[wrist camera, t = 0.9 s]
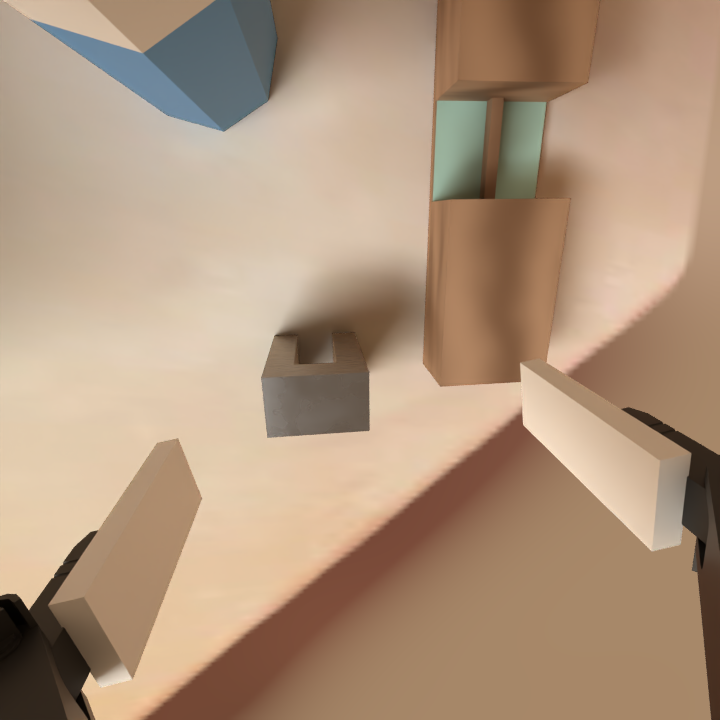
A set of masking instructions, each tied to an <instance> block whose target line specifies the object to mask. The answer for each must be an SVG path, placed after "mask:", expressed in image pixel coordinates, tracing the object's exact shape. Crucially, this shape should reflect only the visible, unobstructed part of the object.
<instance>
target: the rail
mask: <svg viewBox="0 0 720 720" xmlns="http://www.w3.org/2000/svg"><path fill="white" fill-rule="evenodd" d="M599 5H600V0H438V5H437V30H436V54H435V79H434V104H433V128H432V153H431V177H430V202H429V227H428V251H427V276H426V301H425V325H424V350H423V364H424V365H425V367H426V368H427V369H428V371H429V372H430V373H431V375H432V376H433V377H434V379H435V380H436V381H437V383H438V384H439V385H440V387H441V386H458V385H475V384H492V383H510V382H521V370H520V363H521V362H525V361H530V360H534V359H541V360H543V361H544V362H546V361H547V354H548V347H549V341H550V334H551V327H552V321H553V314H554V307H555V300H556V294H557V287H558V280H559V274H560V267H561V260H562V253H563V247H564V240H565V233H566V227H567V220H568V213H569V206H570V200H571V198H540V199H535V197H536V189H537V180H538V172H539V164H540V156H541V148H542V139H543V131H544V123H545V115H546V106H547V102H549V101H551V100H553V99H555V98H557V97H559V96H562V95H564V94H566V93H568V92H570V91H572V90H574V89H576V88H578V87H580V86H582V85H584V84H586V83H588V79H589V72H590V65H591V59H592V52H593V45H594V38H595V32H596V25H597V18H598V12H599Z"/></svg>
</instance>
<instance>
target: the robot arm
mask: <svg viewBox="0 0 720 720" xmlns="http://www.w3.org/2000/svg"><path fill="white" fill-rule="evenodd" d="M520 370H521V390H522V410H523V425H524V426H525V427H526V428H527V429H528V430H529V431H530V432H531V433H532V434H533V435H534V436H535V437H536V438H537V439H538V440H539V441H540V442H541V443H542V444H543V445H544V446H545V447H546V448H547V449H548V450H549V451H550V452H551V453H552V454H553V455H554V456H555V457H556V458H557V459H559V461H560V462H562V463H563V464H564V465H565V466H566V467H567V468H568V469H569V470H570V471H571V472H572V473H573V474H574V475H575V476H576V477H577V478H578V479H579V480H580V481H581V482H582V483H583V484H584V485H585V486H586V487H587V488H588V489H589V490H590V491H591V492H592V493H593V494H594V495H595V496H596V497H597V498H598V499H599V500H600V501H601V502H602V503H603V504H604V505H605V506H606V507H607V508H608V509H609V510H610V511H611V512H612V513H613V514H614V515H615V516H616V517H617V518H619V519H620V520H621V521H622V522H623V523H624V524H625V525H626V526H627V527H628V528H629V529H630V530H631V531H632V532H633V533H634V534H635V535H636V536H637V537H638V538H639V539H640V540H641V541H642V542H643V543H644V544H645V545H646V546H647V547H648V548H649V549H650V550H651V551H656V550H660V549H664V548H668V547H672V546H676V545H680V544H681V536H682V528H683V526H685V527H686V528H687V529H688V530H689V531H691V532H692V533H693V534H694V535H695V536H697V539H696V546H695V553H694V560H693V567H692V571H695V572H698V583H699V594H700V604H701V615H702V625H703V636H704V647H705V657H706V668H707V678H708V689H709V700H710V711H711V720H720V455H718V454H716V453H714V452H713V451H711V450H709V449H707V448H706V447H704V446H702V445H701V444H699V443H697V442H696V441H694V440H692V439H691V438H689V437H687V436H685V435H684V434H682V433H680V432H678V431H675V430H674V429H673V428H672V427H670V426H668V425H666V424H663V423H662V422H661V421H660V420H658V419H656V418H655V417H653V416H651V415H650V414H648V413H645V412H642V411H639V410H635V409H632V408H624V409H620V408H618V407H616V406H615V405H613V404H612V403H610V402H608V401H607V400H605V399H604V398H602V397H600V396H599V395H597V394H596V393H594V392H592V391H591V390H589V389H587V388H586V387H584V386H583V385H581V384H580V383H578V382H576V381H575V380H573V379H572V378H570V377H568V376H567V375H565V374H564V373H562V372H560V371H559V370H557V369H556V368H554V367H552V366H551V365H549V364H547V363H546V362H544V361H543V360H541V359H534V360H530V361H525V362H521V363H520ZM201 500H202V497H201V495H200V492H199V490H198V487H197V485H196V482H195V480H194V477H193V475H192V472H191V470H190V467H189V465H188V462H187V460H186V457H185V455H184V452H183V450H182V447H181V445H180V442H179V440H178V439H173V440H169V441H164V442H160V443H157V444H156V446H155V447H154V449H153V450H152V452H151V453H150V455H149V456H148V458H147V459H146V461H145V462H144V463H143V465H142V466H141V468H140V469H139V471H138V472H137V474H136V475H135V477H134V478H133V480H132V481H131V483H130V484H129V486H128V487H127V489H126V490H125V492H124V493H123V495H122V496H121V498H120V499H119V501H118V502H117V504H116V505H115V507H114V508H113V510H112V511H111V513H110V514H109V516H108V517H107V518H106V520H105V521H104V523H103V524H102V526H101V527H100V529H99V530H97V531H93V532H90V533H89V534H88V535H87V536H86V537H85V538H84V539H82V540H81V541H80V542H79V543H78V544H77V545H76V546H75V547H74V548H73V549H72V551H71V552H70V554H69V555H68V556H67V558H66V559H65V561H64V562H63V565H61V566H60V568H59V569H58V570H57V572H56V573H55V575H54V578H52V579H51V580H50V582H49V583H48V584H47V586H46V587H45V589H44V590H43V591H42V593H41V594H40V596H39V597H38V598H37V600H36V601H35V603H34V604H33V606H32V607H31V608H30V610H28V609H27V607H26V606H25V604H24V603H23V601H22V600H21V598H20V597H19V596H18V595H17V594H6V595H2V596H0V720H95V718H94V715H93V713H92V710H91V707H90V705H89V702H88V699H87V697H86V696H85V694H84V693H83V691H82V690H81V689H82V687H83V685H84V683H85V681H86V679H87V677H88V675H89V673H90V672H91V674H92V675H93V677H94V678H95V680H96V682H97V683H98V685H99V686H100V688H101V687H105V686H109V685H113V684H117V683H121V682H125V681H129V680H133V677H134V675H135V672H136V669H137V667H138V664H139V662H140V659H141V656H142V654H143V651H144V649H145V646H146V643H147V641H148V638H149V635H150V633H151V630H152V628H153V625H154V622H155V620H156V617H157V615H158V612H159V609H160V607H161V604H162V602H163V599H164V596H165V594H166V591H167V588H168V586H169V583H170V581H171V578H172V575H173V573H174V570H175V568H176V565H177V562H178V560H179V557H180V555H181V552H182V549H183V547H184V544H185V541H186V539H187V536H188V534H189V531H190V528H191V526H192V523H193V521H194V518H195V515H196V513H197V510H198V508H199V505H200V502H201Z"/></svg>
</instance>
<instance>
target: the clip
mask: <svg viewBox="0 0 720 720" xmlns="http://www.w3.org/2000/svg"><path fill="white" fill-rule="evenodd" d="M332 340H333V363H319V364H299V353H298V339H297V335H281V336H274V339H273V342H272V345H271V348H270V352H269V355H268V358H267V361H266V364H265V368H264V371H263V374H262V377H261V380H262V390H263V400H264V409H265V419H266V429H267V438H270V437H284V436H299V435H314V434H328V433H343V432H358V431H369V371H368V368H367V365H366V362H365V360H364V357H363V354H362V352H361V349H360V346H359V343H358V341H357V338H356V335H355V333H354V332H350V333H332Z"/></svg>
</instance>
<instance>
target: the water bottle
mask: <svg viewBox="0 0 720 720" xmlns="http://www.w3.org/2000/svg"><path fill="white" fill-rule="evenodd" d="M3 1H4V2H6V3H7V4H9V5H10V6H11V7H13V8H14V9H16V10H17V11H19V12H20V13H21V14H23V15H24V16H26V17H27V18H29V19H30V20H31V21H33V22H34V23H36V24H37V25H39V26H40V27H42V28H43V29H44V30H46V31H47V32H49V33H50V34H52V35H53V36H54V37H56V38H57V39H59V40H60V41H62V42H63V43H64V44H66V45H67V46H69V47H70V48H72V49H73V50H74V51H76V52H77V53H79V54H80V55H82V56H83V57H85V58H86V59H87V60H89V61H90V62H92V63H93V64H95V65H96V66H97V67H99V68H100V69H102V70H103V71H105V72H106V73H107V74H109V75H110V76H112V77H113V78H115V79H116V80H117V81H119V82H120V83H122V84H123V85H125V86H126V87H128V88H129V89H130V90H132V91H133V92H135V93H136V94H138V95H139V96H140V97H142V98H143V99H145V100H146V101H148V102H149V103H150V104H152V105H153V106H155V107H156V108H158V109H159V110H160V111H162V112H163V113H165V114H166V115H168V116H171V117H174V118H178V119H181V120H185V121H188V122H192V123H196V124H199V125H203V126H206V127H210V128H213V129H217V130H221V131H225V130H227V129H228V128H230V127H231V126H233V125H234V124H235V123H237V122H238V121H240V120H241V119H243V118H244V117H245V116H247V115H248V114H250V113H251V112H253V111H254V110H256V109H257V108H258V107H260V106H261V105H263V104H264V103H266V102H267V101H268V98H269V91H270V85H271V78H272V71H273V65H274V58H275V51H276V44H277V34H276V28H275V23H274V18H273V13H272V8H271V2H270V0H3Z"/></svg>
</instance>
